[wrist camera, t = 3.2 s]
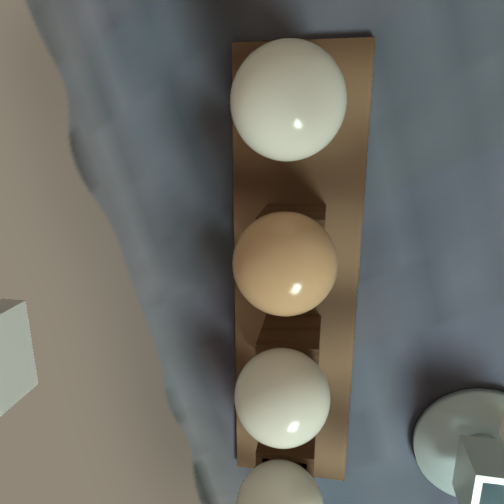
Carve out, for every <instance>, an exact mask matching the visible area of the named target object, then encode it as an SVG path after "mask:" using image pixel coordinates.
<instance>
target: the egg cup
mask: <svg viewBox="0 0 504 504" xmlns="http://www.w3.org/2000/svg"><path fill="white" fill-rule="evenodd" d="M503 407H504V392H502V391H498V390H493V389H485V388H473V389H465V390H459V391H456V392H453V393H450V394H448V395H445V396H443V397H441V398H439V399H438V400H436V401H435V402H433V403H432V404H431V405H430V406H428V407H427V408H426V409H425V410H424V412H423V413H422V414H421V416H420V417H419V419H418V421H417V423H416V425H415V428H414V432H413V449H414V453H415V457H416V461H417V463H418V465H419V468H420V469H421V471H422V472H423V474H424V475H425V476H426V477H427V479H428V480H429V481H430V482H431V483H433V484H434V485H435V486H436V487H438V488H439V489H441V490H442V491H444V492H446V493H448V494H450V495H453V496H455V497H457V500H458V503H459V504H504V442H503V440H502V439H501V437H500V435H499V429H500V424H501V418H502V413H503Z"/></svg>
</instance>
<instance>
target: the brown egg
mask: <svg viewBox="0 0 504 504" xmlns="http://www.w3.org/2000/svg"><path fill="white" fill-rule="evenodd" d="M232 267H233V274H234V278H235V281H236V284H237V286H238V288H239V290H240V292H241V293H242V295H243V296H244V297H245V298H246V300H247V301H248V302H249V303H251V304H252V305H253V306H254V307H256V308H257V309H259V310H261V311H263V312H265V313H268V314H271V315H275V316H295V315H300V314H303V313H305V312H308V311H309V310H311V309H313V308H315V307H316V306H317V305H319V304H320V303H321V302H322V301H323V300H324V299H325V298H326V297H327V295H328V294H329V292H330V291H331V289H332V287H333V285H334V283H335V280H336V276H337V270H338V258H337V252H336V249H335V245H334V243H333V241H332V239H331V237H330V235H329V234H328V232H327V231H326V230H325V229H324V228H323V227H322V226H321V225H320V224H319V223H318V222H316V221H315V220H313V219H312V218H310V217H308V216H306V215H303V214H300V213H296V212H289V211H279V212H273V213H270V214H266V215H264V216H262V217H260V218H258V219H257V220H255V221H254V222H252V223H251V224H250V225H249V226H248V227H247V228H246V229H245V230H244V231H243V233H242V234H241V236H240V237H239V239H238V241H237V243H236V246H235V249H234V253H233V262H232Z"/></svg>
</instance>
